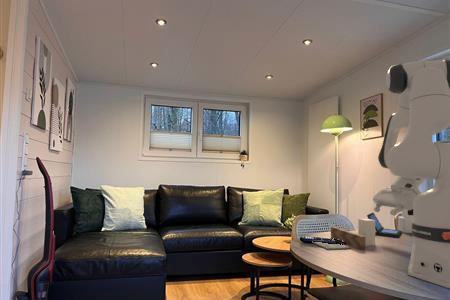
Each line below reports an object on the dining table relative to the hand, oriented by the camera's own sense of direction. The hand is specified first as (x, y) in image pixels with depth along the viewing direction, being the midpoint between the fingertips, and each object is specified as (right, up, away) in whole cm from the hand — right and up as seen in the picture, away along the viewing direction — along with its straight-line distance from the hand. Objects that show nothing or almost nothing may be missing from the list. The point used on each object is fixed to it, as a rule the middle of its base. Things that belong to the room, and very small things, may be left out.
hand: (383, 212), depth 132 cm
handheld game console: (+11, -15, +20) cm, 27 cm away
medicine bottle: (+26, -15, +25) cm, 39 cm away
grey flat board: (-25, -12, -7) cm, 28 cm away
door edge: (-17, -12, -3) cm, 21 cm away
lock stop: (-8, -12, -3) cm, 15 cm away
